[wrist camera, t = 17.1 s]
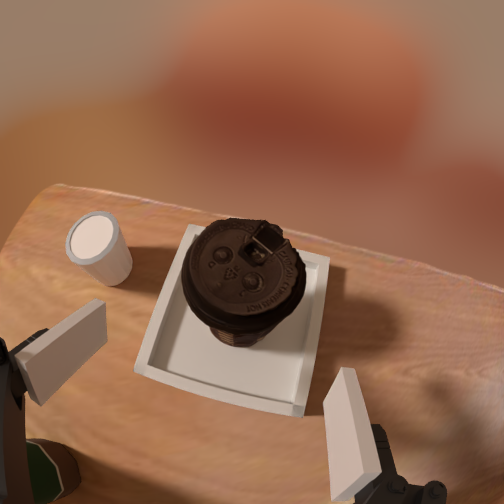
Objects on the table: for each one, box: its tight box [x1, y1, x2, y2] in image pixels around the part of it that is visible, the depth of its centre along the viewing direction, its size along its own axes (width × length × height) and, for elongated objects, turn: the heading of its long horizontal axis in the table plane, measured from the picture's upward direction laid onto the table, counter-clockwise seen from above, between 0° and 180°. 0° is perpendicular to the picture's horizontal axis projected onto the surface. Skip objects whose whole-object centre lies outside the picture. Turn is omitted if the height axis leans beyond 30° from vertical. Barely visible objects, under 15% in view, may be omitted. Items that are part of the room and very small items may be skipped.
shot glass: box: [65, 211, 133, 286], centre depth 28 cm, size 7×7×7 cm
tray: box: [133, 224, 330, 418], centre depth 28 cm, size 17×18×2 cm
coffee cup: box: [181, 218, 307, 347], centre depth 23 cm, size 9×8×13 cm
